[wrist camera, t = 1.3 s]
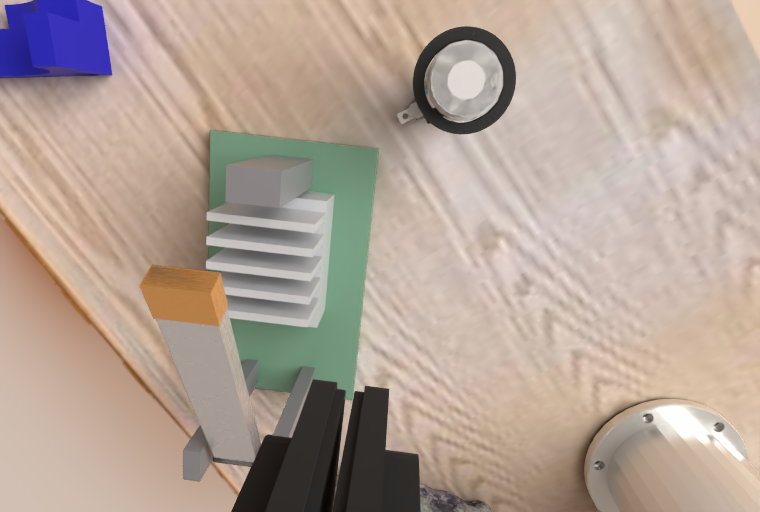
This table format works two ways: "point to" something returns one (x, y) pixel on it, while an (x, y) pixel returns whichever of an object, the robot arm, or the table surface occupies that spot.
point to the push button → (462, 81)
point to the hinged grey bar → (205, 357)
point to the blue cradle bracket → (54, 40)
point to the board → (289, 263)
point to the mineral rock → (444, 502)
